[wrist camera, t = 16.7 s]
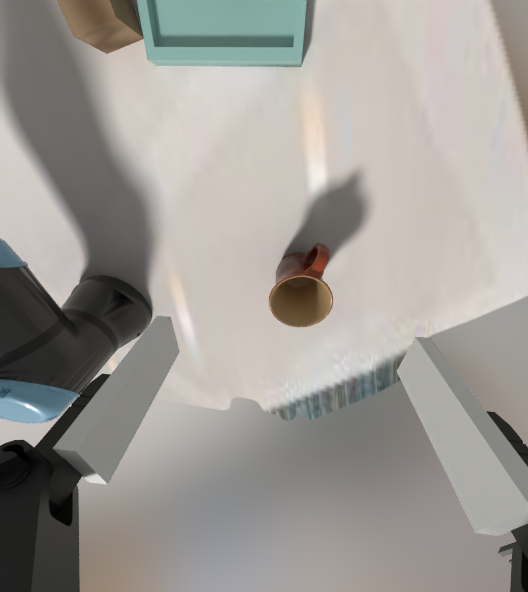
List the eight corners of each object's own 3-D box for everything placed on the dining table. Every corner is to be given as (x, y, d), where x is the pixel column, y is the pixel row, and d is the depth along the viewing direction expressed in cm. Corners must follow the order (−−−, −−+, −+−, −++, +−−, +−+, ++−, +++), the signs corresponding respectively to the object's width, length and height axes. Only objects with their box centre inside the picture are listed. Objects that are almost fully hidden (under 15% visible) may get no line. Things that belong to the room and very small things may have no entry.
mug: (308, 297, 42) (313, 334, 34) (265, 281, 41) (259, 315, 33) (343, 240, 36) (360, 268, 27) (293, 219, 35) (295, 241, 26)
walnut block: (107, 54, 26) (73, 36, 22) (80, -12, 24) (36, -45, 20) (144, 38, 25) (115, 17, 21) (120, -31, 23) (82, -71, 19)
